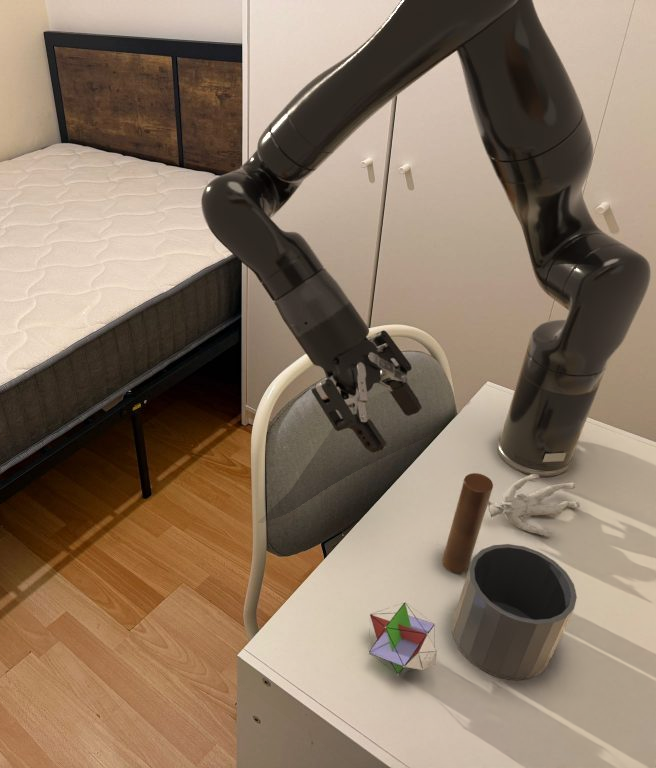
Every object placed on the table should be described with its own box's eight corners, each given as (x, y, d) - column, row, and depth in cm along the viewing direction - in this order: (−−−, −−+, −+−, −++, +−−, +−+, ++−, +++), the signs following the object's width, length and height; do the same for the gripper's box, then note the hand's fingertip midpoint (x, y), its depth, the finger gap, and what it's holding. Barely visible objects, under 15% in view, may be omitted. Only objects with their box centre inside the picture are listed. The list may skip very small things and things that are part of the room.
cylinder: (446, 550, 91) (468, 469, 83) (471, 560, 90) (496, 478, 82) (439, 567, 89) (461, 485, 81) (464, 577, 88) (489, 495, 80)
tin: (465, 587, 87) (483, 531, 81) (557, 625, 82) (583, 568, 76) (441, 652, 80) (458, 595, 74) (539, 696, 76) (566, 640, 70)
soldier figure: (586, 529, 94) (525, 541, 88) (551, 530, 98) (490, 541, 93) (573, 469, 95) (512, 476, 90) (539, 473, 99) (479, 480, 94)
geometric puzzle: (340, 636, 80) (388, 627, 74) (372, 597, 84) (420, 585, 77) (382, 690, 80) (434, 685, 73) (413, 648, 83) (465, 640, 77)
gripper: (308, 331, 78) (392, 455, 79) (374, 279, 86) (450, 392, 87) (265, 355, 84) (343, 470, 85) (330, 304, 92) (402, 409, 93)
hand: (397, 430), depth 86 cm, fingers open, 8 cm apart
